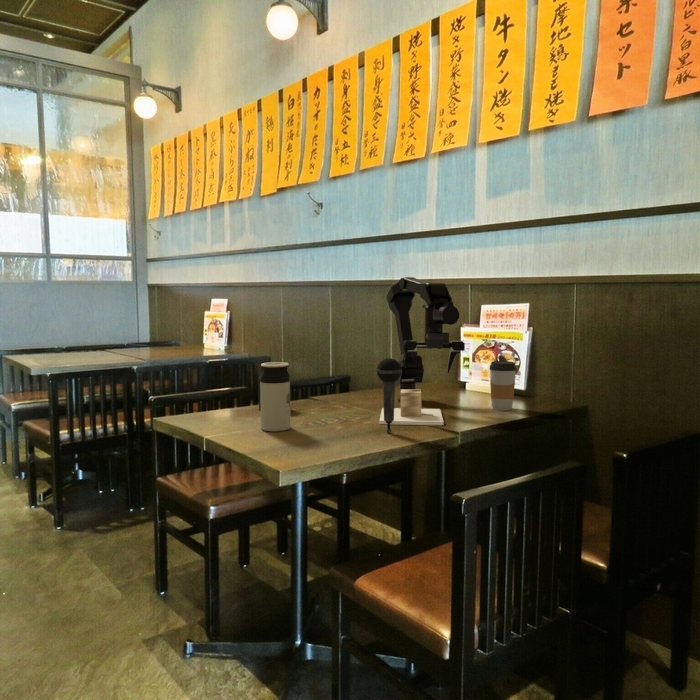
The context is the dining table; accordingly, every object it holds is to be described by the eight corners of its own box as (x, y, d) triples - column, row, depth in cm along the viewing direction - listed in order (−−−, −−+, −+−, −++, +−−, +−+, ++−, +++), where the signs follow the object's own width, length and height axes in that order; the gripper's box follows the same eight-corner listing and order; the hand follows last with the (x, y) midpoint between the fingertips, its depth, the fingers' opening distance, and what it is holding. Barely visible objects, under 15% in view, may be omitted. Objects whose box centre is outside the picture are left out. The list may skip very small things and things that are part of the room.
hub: (382, 411, 180) (382, 393, 179) (439, 412, 178) (440, 394, 177) (379, 424, 162) (379, 405, 161) (443, 425, 160) (443, 406, 160)
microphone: (383, 437, 147) (383, 360, 145) (371, 431, 153) (371, 357, 151) (406, 434, 150) (407, 358, 148) (394, 429, 156) (394, 356, 154)
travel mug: (255, 430, 154) (254, 364, 153) (270, 424, 162) (269, 361, 160) (281, 433, 152) (281, 366, 150) (295, 426, 159) (294, 362, 157)
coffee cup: (516, 412, 178) (517, 364, 176) (488, 410, 180) (490, 363, 178) (514, 406, 186) (515, 361, 185) (488, 405, 188) (489, 360, 186)
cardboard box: (400, 416, 167) (400, 392, 166) (400, 412, 173) (400, 388, 172) (421, 416, 167) (421, 392, 166) (420, 412, 173) (420, 388, 172)
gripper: (403, 324, 171) (403, 376, 173) (466, 324, 169) (465, 376, 171) (404, 322, 182) (403, 370, 184) (463, 322, 180) (462, 371, 182)
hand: (433, 372), depth 180 cm, fingers open, 9 cm apart
